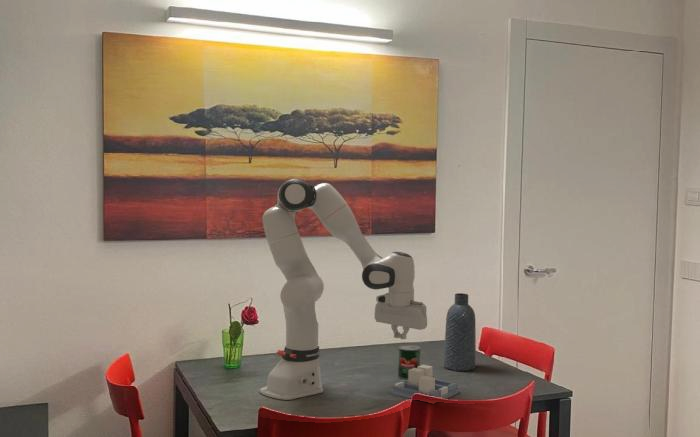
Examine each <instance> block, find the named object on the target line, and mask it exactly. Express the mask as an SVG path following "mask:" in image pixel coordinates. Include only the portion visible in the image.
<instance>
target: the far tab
mask: <svg viewBox="0 0 700 437" xmlns="http://www.w3.org/2000/svg"><path fill="white" fill-rule="evenodd" d="M433 367H434V366H432V365H426V364H420V366H418V367H417V368H418V369H422V370H424V376H430V377H433V369H434V368H433Z"/></svg>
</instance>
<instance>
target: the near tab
mask: <svg viewBox="0 0 700 437" xmlns="http://www.w3.org/2000/svg"><path fill="white" fill-rule="evenodd" d="M435 379H436V377H433V376H432V377H430V376H422V377H419V392H423V393H427V394H430V392H433V391H435Z"/></svg>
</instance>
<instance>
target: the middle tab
mask: <svg viewBox="0 0 700 437" xmlns="http://www.w3.org/2000/svg"><path fill="white" fill-rule="evenodd" d="M422 376H424V370H422V369H418V368H412V369H409V370H408V383H410V384H414V385H418V386H419V377H422Z"/></svg>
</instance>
